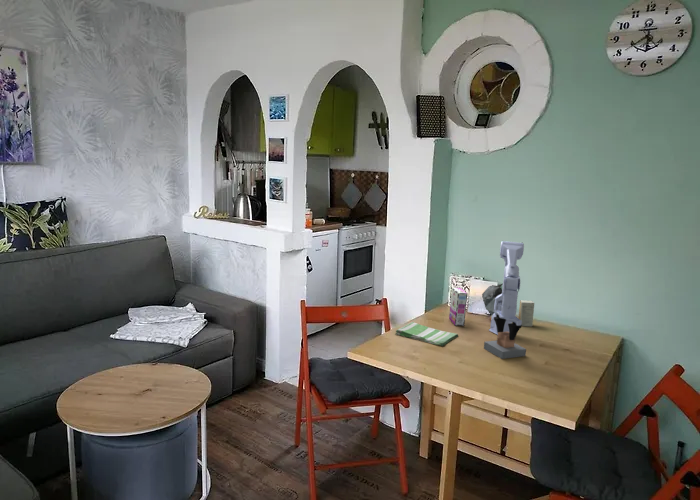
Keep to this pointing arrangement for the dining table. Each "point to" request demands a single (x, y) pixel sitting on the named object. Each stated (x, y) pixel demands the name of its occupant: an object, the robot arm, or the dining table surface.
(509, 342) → the terracotta cube
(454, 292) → the candy bar box
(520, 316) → the skincare box
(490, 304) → the gray rock
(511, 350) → the slate block
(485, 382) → the dining table surface
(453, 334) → the dish towel
